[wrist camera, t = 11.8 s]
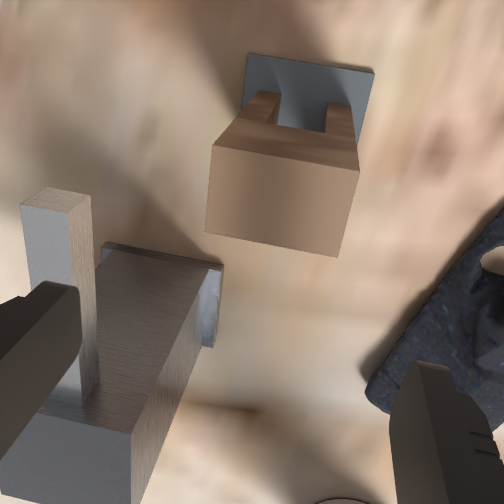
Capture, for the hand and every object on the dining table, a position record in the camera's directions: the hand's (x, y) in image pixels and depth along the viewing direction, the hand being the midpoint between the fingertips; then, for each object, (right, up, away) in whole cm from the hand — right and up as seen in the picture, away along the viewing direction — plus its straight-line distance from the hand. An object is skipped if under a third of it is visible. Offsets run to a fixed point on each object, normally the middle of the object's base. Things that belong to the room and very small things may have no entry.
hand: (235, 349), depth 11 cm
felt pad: (+4, +11, +20) cm, 23 cm away
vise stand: (-9, +4, +26) cm, 28 cm away
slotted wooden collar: (+4, +11, +20) cm, 23 cm away
